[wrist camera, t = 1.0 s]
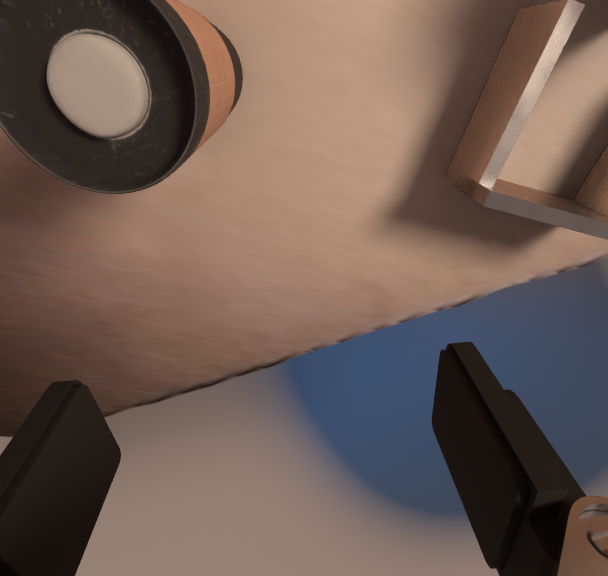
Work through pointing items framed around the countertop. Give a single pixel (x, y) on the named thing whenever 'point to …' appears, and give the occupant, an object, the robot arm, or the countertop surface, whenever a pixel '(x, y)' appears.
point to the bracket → (511, 118)
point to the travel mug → (112, 87)
